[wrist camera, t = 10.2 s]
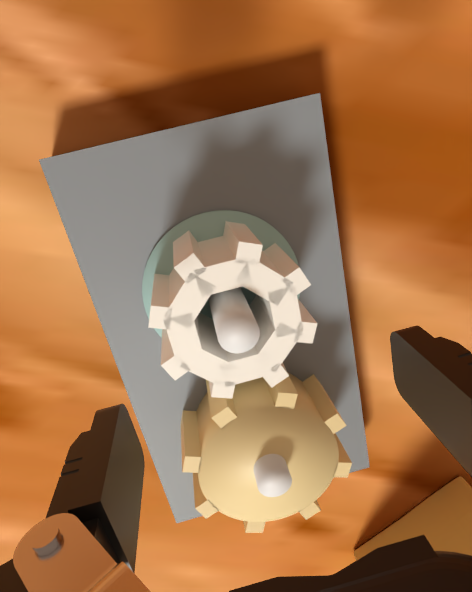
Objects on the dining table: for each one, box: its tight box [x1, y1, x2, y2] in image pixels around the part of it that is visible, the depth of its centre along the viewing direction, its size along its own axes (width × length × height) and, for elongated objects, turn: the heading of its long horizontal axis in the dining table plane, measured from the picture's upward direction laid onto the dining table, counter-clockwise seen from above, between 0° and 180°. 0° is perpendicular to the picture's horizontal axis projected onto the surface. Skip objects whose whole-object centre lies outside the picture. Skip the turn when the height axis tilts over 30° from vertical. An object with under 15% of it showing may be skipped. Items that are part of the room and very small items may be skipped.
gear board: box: [39, 93, 370, 533], centre depth 20 cm, size 12×21×7 cm, turn 12°
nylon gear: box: [148, 221, 318, 399], centre depth 19 cm, size 6×6×4 cm
